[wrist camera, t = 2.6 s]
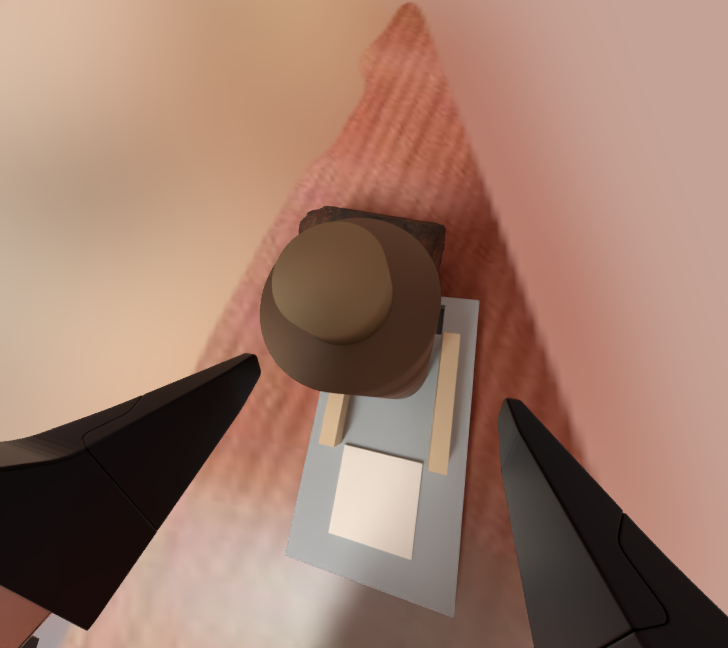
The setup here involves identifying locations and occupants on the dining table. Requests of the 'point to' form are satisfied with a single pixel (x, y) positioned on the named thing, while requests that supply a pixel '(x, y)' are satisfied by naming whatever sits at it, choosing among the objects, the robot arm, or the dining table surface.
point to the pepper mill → (353, 309)
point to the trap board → (394, 477)
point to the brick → (422, 231)
